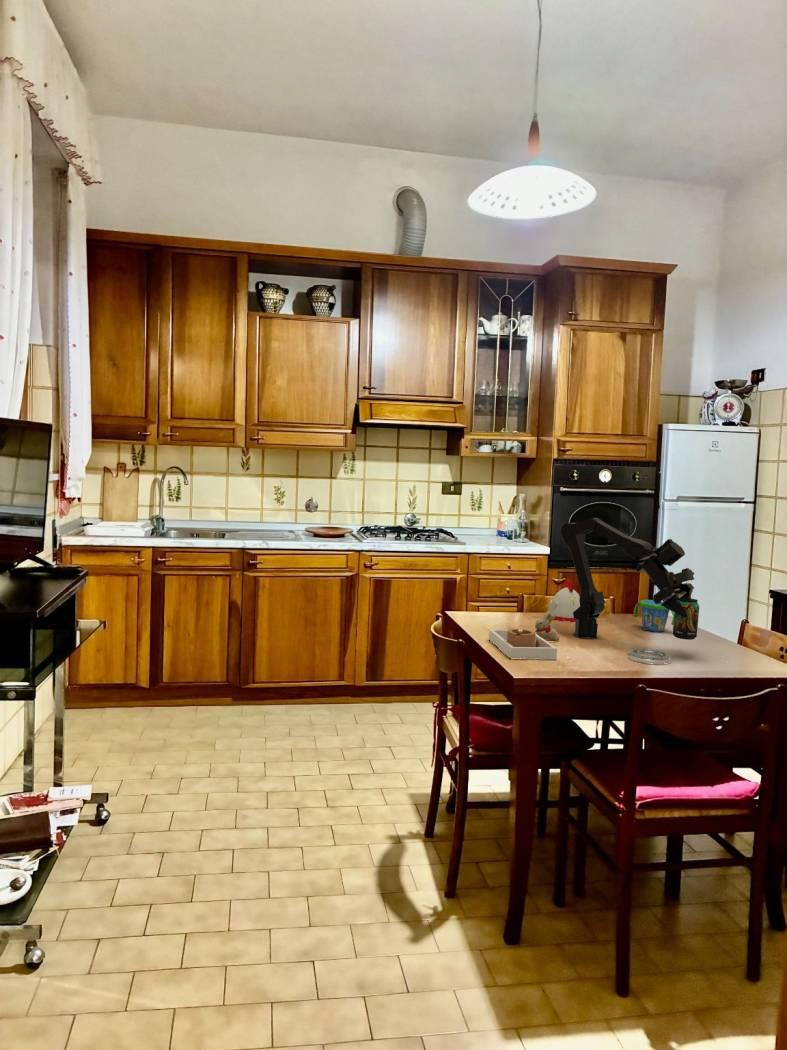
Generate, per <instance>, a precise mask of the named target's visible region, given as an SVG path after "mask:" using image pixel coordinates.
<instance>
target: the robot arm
mask: <svg viewBox="0 0 787 1050" xmlns="http://www.w3.org/2000/svg"><path fill="white" fill-rule="evenodd" d="M591 532H594V533H596V534H598V535H599V536H601V537H603V538H605V539H606V540H608V541H609V542H611V543H613V544H615V545H616V546H619V548H621V549H622V550H623V552H624V553H625V554H626V555H627V556H628V557H630V558H631V559H632V560H634V561H643V560H644V561H643V562H639V563H637V568H636V572H637V573H639V572H645V573H646V575H647V576H648V577H649V579H650V580H651V581H652V583H650V584H651V585H652V586H653V587H656V588H657V589H658V592H656V593H655V594H654V595H652V600H653V601H654V602H655V604H656V605H658V604H661V601H663V603H662V604H661V606H664V607H665V608H667V609H669V610H671V611H673V612H675V613H676V614H678V615H680V616H682V617H683V618H686V617H687V614H686V612H685V610H684V609H683V607H682V605H681V604H680V602H679V600H678V598H692V593H693V590H694V589H695V587H694V586H693V584H692V583H690V582H689V581H693V580H695V577H694V575H695V572H694V571H693V570H692V569H690V568H689V567H686V568H683V569H681V572H676V573H675V572H673V571H669V570H668V569H667V568H666V566H668V567H671V566H673V565H674V564H675V563H676V562H678V561H679V560H681V558H683V557H684V556H686V555H685V554H686V553H685V550H684V548H683V547H682V546H681V545H679V544H678V543H676V542H675V541H673V539H672V538H667V539H666V540H665V541H664V542H663V544H661V545H660V546H659V547H656V546H653V545H652V544H651V543H650V542H648V541H645V540H642V539H639V538H635V537H631V536H629V535H627V534H625V533H623V532H622V531H620V530H618V529H616V528H615V527H613V526H611V524H610V525H609V524H608V523H606V522H605V521H603V520H601V519H600V518H598V517H590V518H588V519H586V520H583V521H578V522H568V523H564V524H562V526H561V528H560V535H561V538H562V540H563V542H564V544H565V546H566V547H567V548H568V549H569V551H570V554H571V558H572V562H573V565H574V569H575V575H576V577H577V581H578V585H579V589H580V594H579V596H580V598H579V602H580V607H579V608H578V609H576V610H575V611H574V612H573V616H574V619H576V622H574V623H575V624H574V626H575V627H574V631H573V632H572V635H574V636H576V637H578V638H580V639H598V636H597V635H598V627H599V626H598V625H599V623H597V619H599V617H600V614H602V613H603V612H604V610H605V608H606V605H605V604H606V603H607V601H606V600H605V596H604V592H603V591H598V590H597V588H596V586H595V582H594V579H593V576H592V572H591V568H590V564H589V559H588V556H587V552H586V549H585V543H586V540H587V539H586V535H587V534H589V533H591ZM652 556H653V557H652ZM651 557H652V558H651ZM671 611H670V612H671Z"/></svg>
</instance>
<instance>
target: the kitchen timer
mask: <svg viewBox="0 0 787 1050" xmlns="http://www.w3.org/2000/svg"><path fill="white" fill-rule="evenodd" d="M562 587H563V588H561V589H560V590H559V591H557V592H556V593H555V595H554V596H553V598H552V599H549V600H550V601H549V605H548V606H549V607H548V610H547V612H548V611H549V612H550V613H551V614H552V615H554V617H555V618H554V619H553V620H552V621H557V620H558V622H564V621H570V622H569V623H575V622H576V619H574V616H573V612H574V611H575V610H576V609H578V608H579V607H580V602H579V598H580V594H579V593H578V592H577V591H576V590H575V589H574V588H575V584H574V581H573V580H571V579H570V578H567V579H566V580H565V581H564V583H563V584H562Z"/></svg>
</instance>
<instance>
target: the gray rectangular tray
mask: <svg viewBox="0 0 787 1050" xmlns="http://www.w3.org/2000/svg"><path fill="white" fill-rule="evenodd" d="M508 630H509V629H489V630H488V641H489V640H490V641H491V642H492V643H494V644H495V645H496V646H497V647H498V648H500V649H501V650H502V651H503V652H504V653H505V654H507V655H508V656H509V657H510V658H518V659H519V658H522V659H523V658H525V659H537V658H538V659H556V660H557V658H558V655H557V654H558V648H557V647H556V646H554V644H552V643H551V642H547V641H546V640H544V639H543V638H541V637H540V636H538V635H537V634H536V632H535V639H536V647H513V646H512V645H511V644H509V643H508V642H507V641H506V640H507V631H508ZM522 630H523V629H518V631H519V632H522ZM490 641H489V642H490ZM491 642H490V643H491ZM492 643H491V644H492ZM495 645H494V646H495ZM496 646H495V647H496ZM497 647H496V648H497ZM498 648H497V649H498ZM503 652H502V653H503ZM504 653H503V654H504ZM505 654H504V655H505Z"/></svg>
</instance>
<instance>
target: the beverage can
mask: <svg viewBox="0 0 787 1050" xmlns="http://www.w3.org/2000/svg"><path fill="white" fill-rule="evenodd" d="M678 600H679V602H680V604H681V605H682V607H683V609H684V610H685V612H686V614H687V617H686V618H683V617H682V616H680V615H678V614H676V613H675V612H674V623H673V625H672V635H673V636H674V637H675V638H677V639H681V640H689V641H690V640H691V641H692V640H695V639H696V638H698V625H699V615H700V605H699V602H698V601H699V600H698V599H695V598H692V597H691V598H678Z"/></svg>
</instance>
